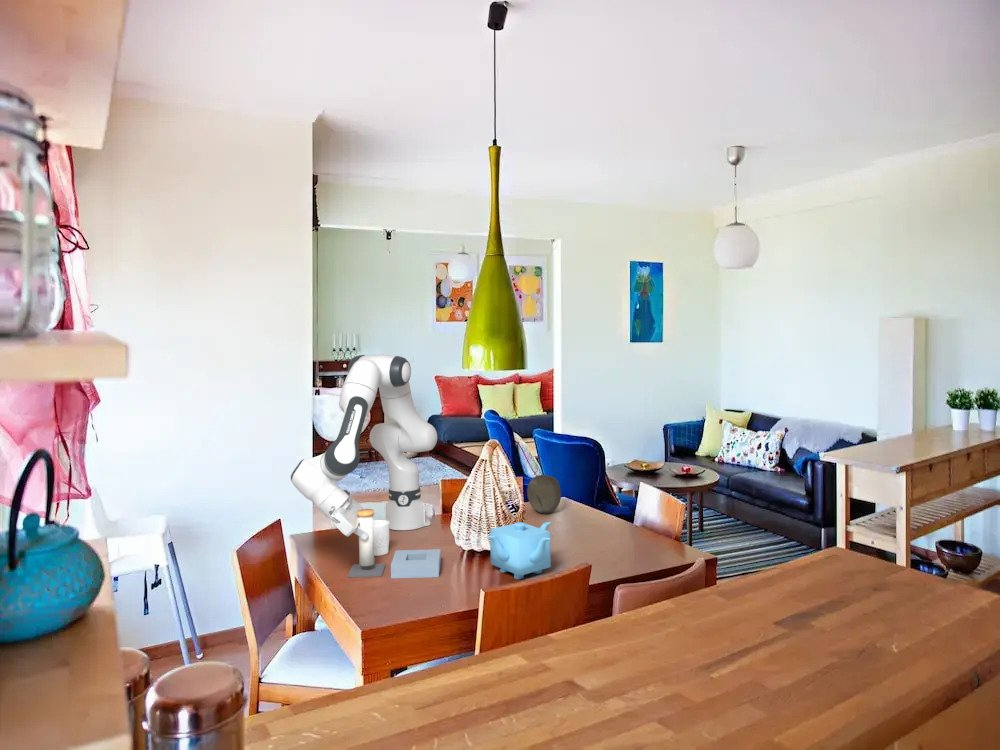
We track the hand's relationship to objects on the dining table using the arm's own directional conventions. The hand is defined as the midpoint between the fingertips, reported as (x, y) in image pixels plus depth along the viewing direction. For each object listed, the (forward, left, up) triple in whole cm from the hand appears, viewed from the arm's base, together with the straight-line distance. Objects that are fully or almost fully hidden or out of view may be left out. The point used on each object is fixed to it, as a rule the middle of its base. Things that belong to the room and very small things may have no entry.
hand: (368, 534), depth 210 cm
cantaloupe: (-64, +60, -11) cm, 89 cm away
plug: (0, -1, -9) cm, 9 cm away
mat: (0, -1, -11) cm, 11 cm away
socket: (0, +14, -11) cm, 18 cm away
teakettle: (+5, +46, -11) cm, 48 cm away
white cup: (-18, 0, -11) cm, 21 cm away
